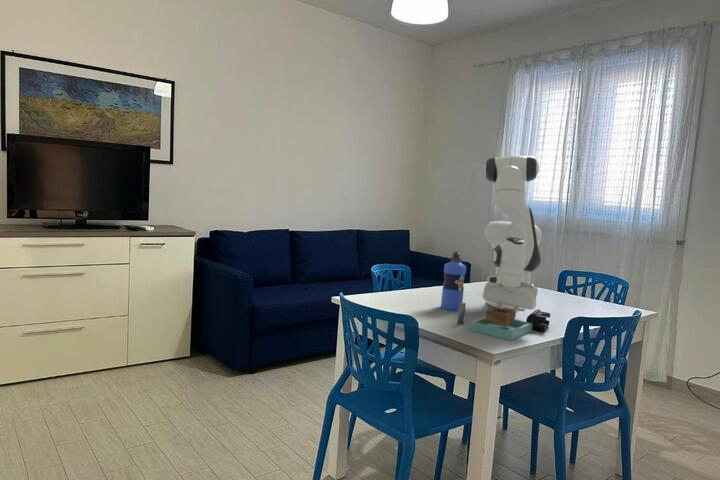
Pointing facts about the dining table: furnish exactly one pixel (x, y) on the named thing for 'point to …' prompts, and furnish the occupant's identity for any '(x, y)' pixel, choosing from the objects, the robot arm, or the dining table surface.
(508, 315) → the wooden box
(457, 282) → the water bottle
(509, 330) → the tray
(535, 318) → the black blocky piece
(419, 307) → the dining table surface
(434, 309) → the dining table surface
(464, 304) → the stake
